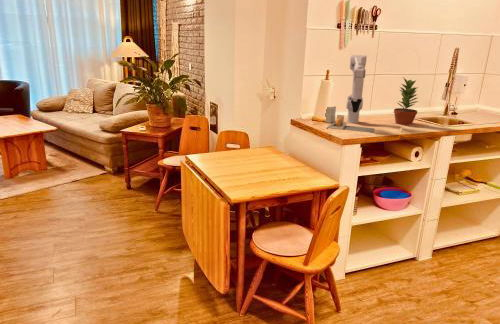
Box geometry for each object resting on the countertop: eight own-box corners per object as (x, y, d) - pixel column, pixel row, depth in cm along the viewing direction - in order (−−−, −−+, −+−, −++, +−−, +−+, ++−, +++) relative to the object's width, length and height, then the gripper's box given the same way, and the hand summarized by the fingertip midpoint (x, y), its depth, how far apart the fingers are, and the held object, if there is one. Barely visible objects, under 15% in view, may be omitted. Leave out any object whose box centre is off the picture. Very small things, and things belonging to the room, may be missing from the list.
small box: (334, 121, 256) (336, 106, 253) (330, 123, 252) (331, 107, 249) (324, 120, 261) (325, 104, 258) (320, 121, 257) (321, 105, 254)
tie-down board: (330, 125, 245) (330, 123, 245) (375, 130, 235) (375, 128, 235) (326, 129, 234) (326, 127, 234) (372, 134, 224) (372, 132, 224)
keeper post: (336, 126, 239) (336, 119, 237) (340, 126, 238) (340, 119, 237) (335, 127, 237) (336, 119, 235) (339, 127, 236) (339, 120, 234)
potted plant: (418, 126, 248) (426, 78, 239) (393, 125, 251) (400, 77, 241) (414, 121, 262) (421, 76, 252) (390, 120, 265) (396, 75, 255)
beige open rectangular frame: (333, 124, 245) (334, 114, 243) (346, 125, 242) (347, 115, 240) (329, 128, 234) (330, 117, 232) (342, 129, 231) (343, 119, 229)
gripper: (352, 87, 239) (350, 109, 243) (348, 90, 226) (346, 113, 230) (364, 88, 236) (362, 110, 240) (361, 90, 223) (358, 114, 227)
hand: (355, 111), depth 235 cm, fingers open, 4 cm apart
